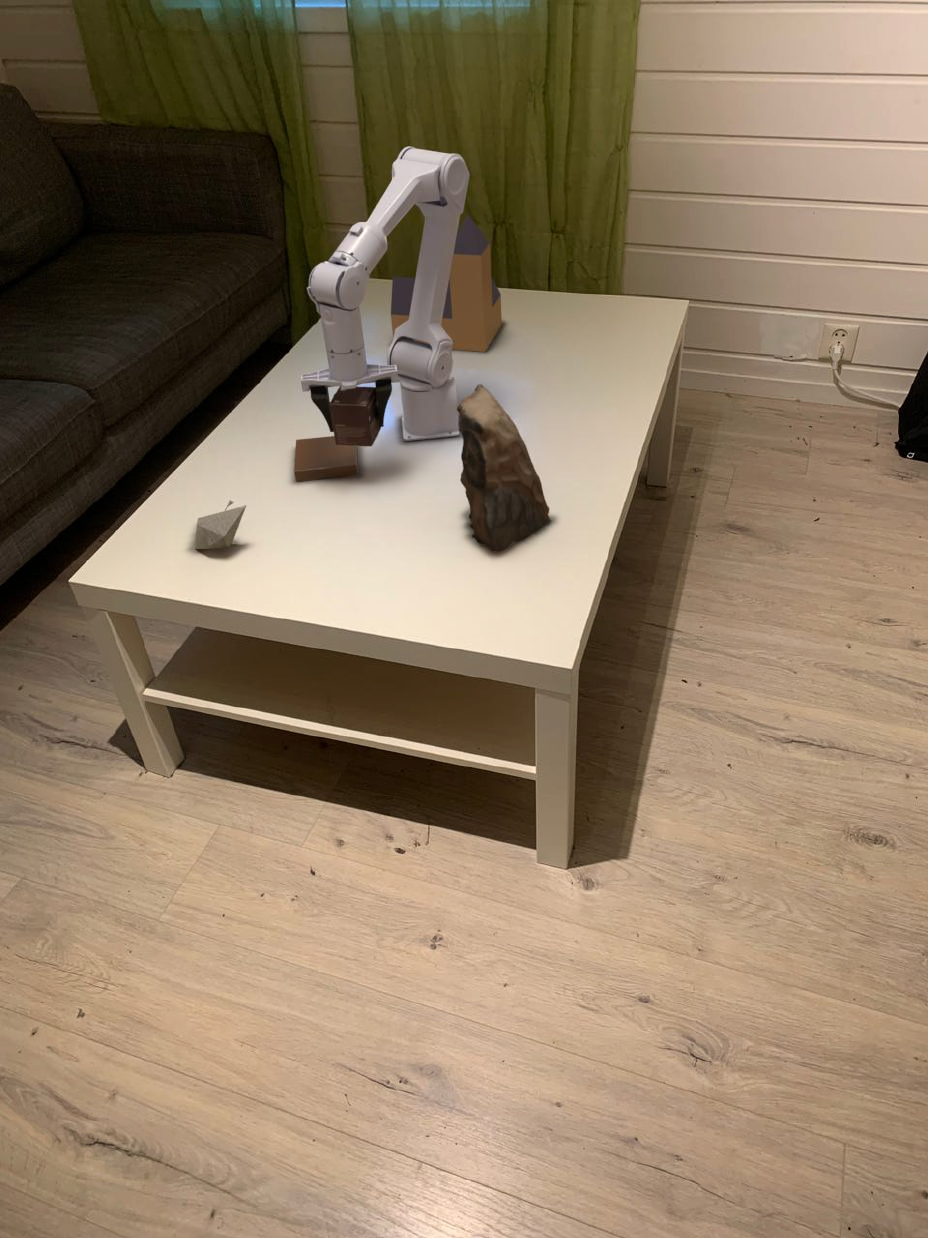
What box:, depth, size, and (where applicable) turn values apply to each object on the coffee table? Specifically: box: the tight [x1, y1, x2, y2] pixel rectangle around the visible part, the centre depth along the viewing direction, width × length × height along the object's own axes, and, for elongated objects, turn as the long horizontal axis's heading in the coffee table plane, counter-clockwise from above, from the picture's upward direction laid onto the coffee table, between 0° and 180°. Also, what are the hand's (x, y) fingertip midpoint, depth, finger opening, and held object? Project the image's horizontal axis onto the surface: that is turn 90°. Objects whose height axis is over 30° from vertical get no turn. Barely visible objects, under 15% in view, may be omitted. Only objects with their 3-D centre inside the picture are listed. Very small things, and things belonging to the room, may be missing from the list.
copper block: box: [293, 435, 359, 483], centre depth 166 cm, size 10×10×2 cm
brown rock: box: [457, 383, 551, 553], centre depth 144 cm, size 13×13×20 cm
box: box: [329, 386, 382, 447], centre depth 156 cm, size 6×6×7 cm
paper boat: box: [194, 500, 247, 550], centre depth 149 cm, size 12×6×9 cm
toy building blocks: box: [390, 213, 503, 353], centre depth 192 cm, size 12×19×25 cm
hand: (356, 426), depth 157 cm, fingers closed on box, 7 cm apart
